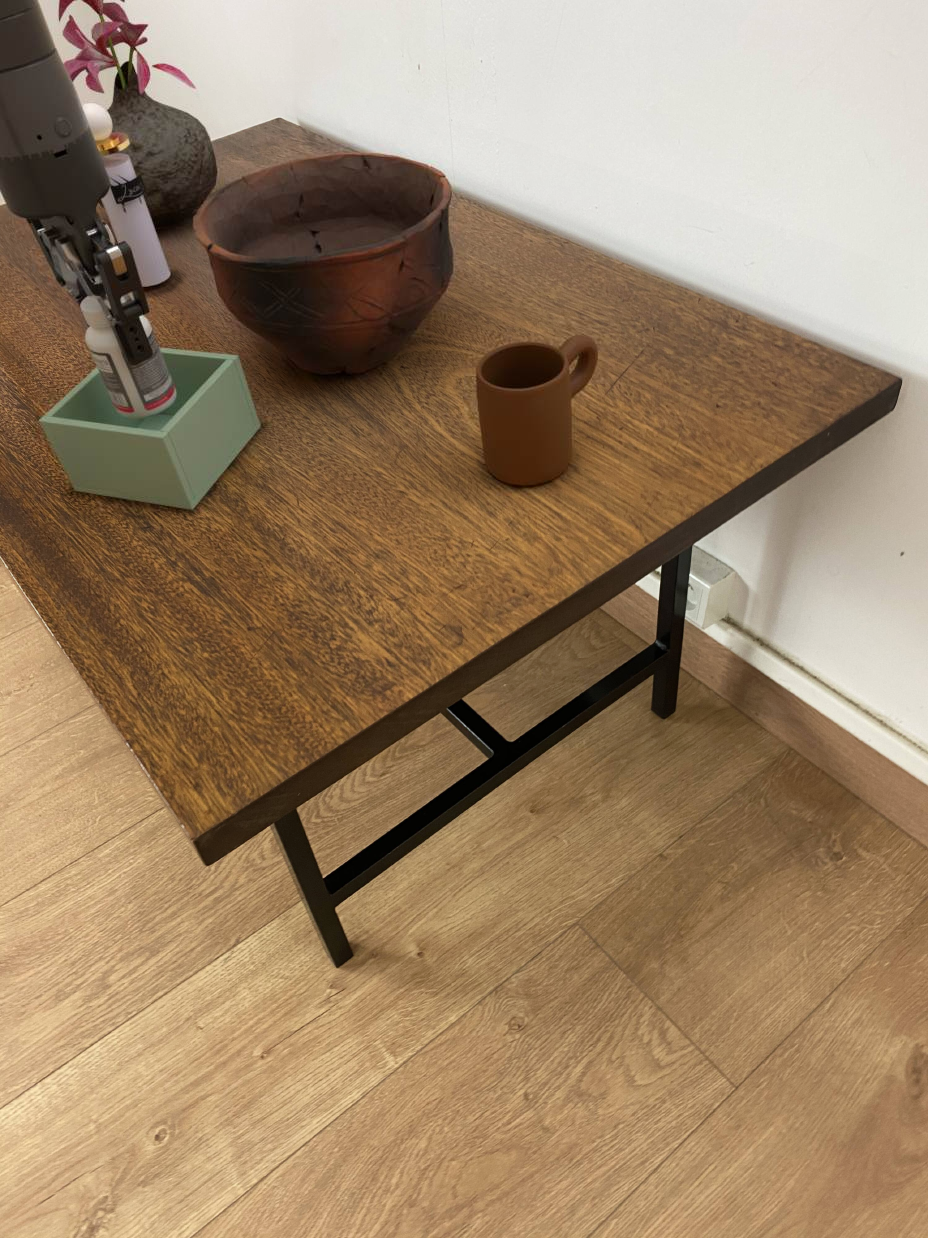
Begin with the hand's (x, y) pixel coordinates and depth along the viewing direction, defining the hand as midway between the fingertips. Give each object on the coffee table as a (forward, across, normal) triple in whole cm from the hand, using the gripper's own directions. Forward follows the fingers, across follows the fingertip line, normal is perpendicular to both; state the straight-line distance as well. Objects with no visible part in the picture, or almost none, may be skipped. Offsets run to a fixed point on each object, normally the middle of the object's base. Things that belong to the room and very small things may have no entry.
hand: (123, 347), depth 76 cm
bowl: (+12, -2, +24) cm, 26 cm away
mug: (+12, +26, +23) cm, 37 cm away
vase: (+12, -50, +29) cm, 59 cm away
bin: (+11, 0, 0) cm, 11 cm away
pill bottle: (+6, 0, 0) cm, 6 cm away
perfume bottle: (+12, -34, +17) cm, 40 cm away
